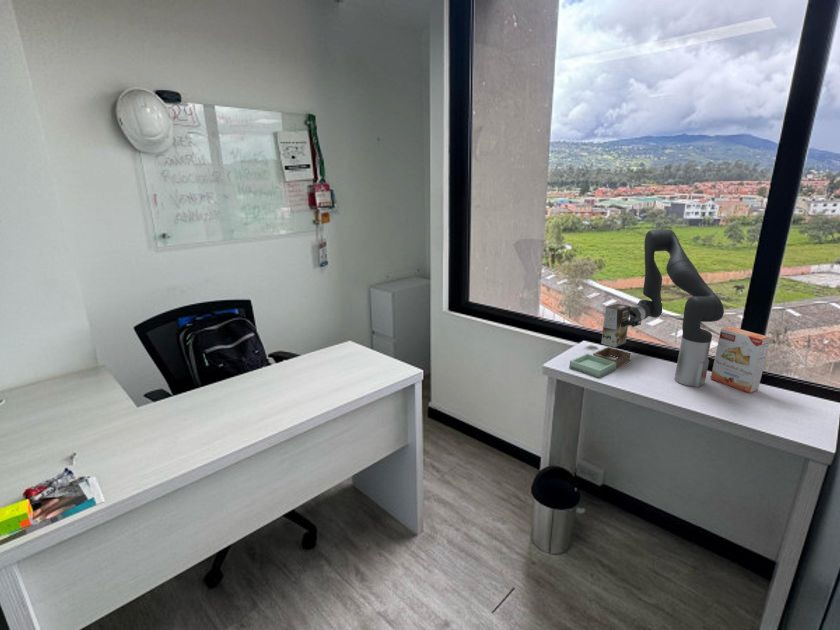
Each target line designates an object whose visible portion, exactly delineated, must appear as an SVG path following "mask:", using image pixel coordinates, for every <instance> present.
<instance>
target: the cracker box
mask: <svg viewBox="0 0 840 630" xmlns="http://www.w3.org/2000/svg"><path fill="white" fill-rule="evenodd" d="M771 339H772V338H771V336H768V335H763V334H761V333H756V332H752V331H748V330H745V329H741V328H737V327H733V326H726V327H722V328H720V333H719V338H718V342H717V347H716V352H715V355H714V356H715V357H714V361H713V364H712V365H713V366H712V370H711V375H710V380H713V381H716V382H718V383H721V384H724V385H727V386H730V387H732V388H735V389H737V390H740V391H742V392H745V393H748V394H752V393H754V392H756V391H758V390H759V388H760V383H761V380H762V376H763V372H764V368H765V363H766V358H767V355H768V350H769V346H770V342H771Z"/></svg>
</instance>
